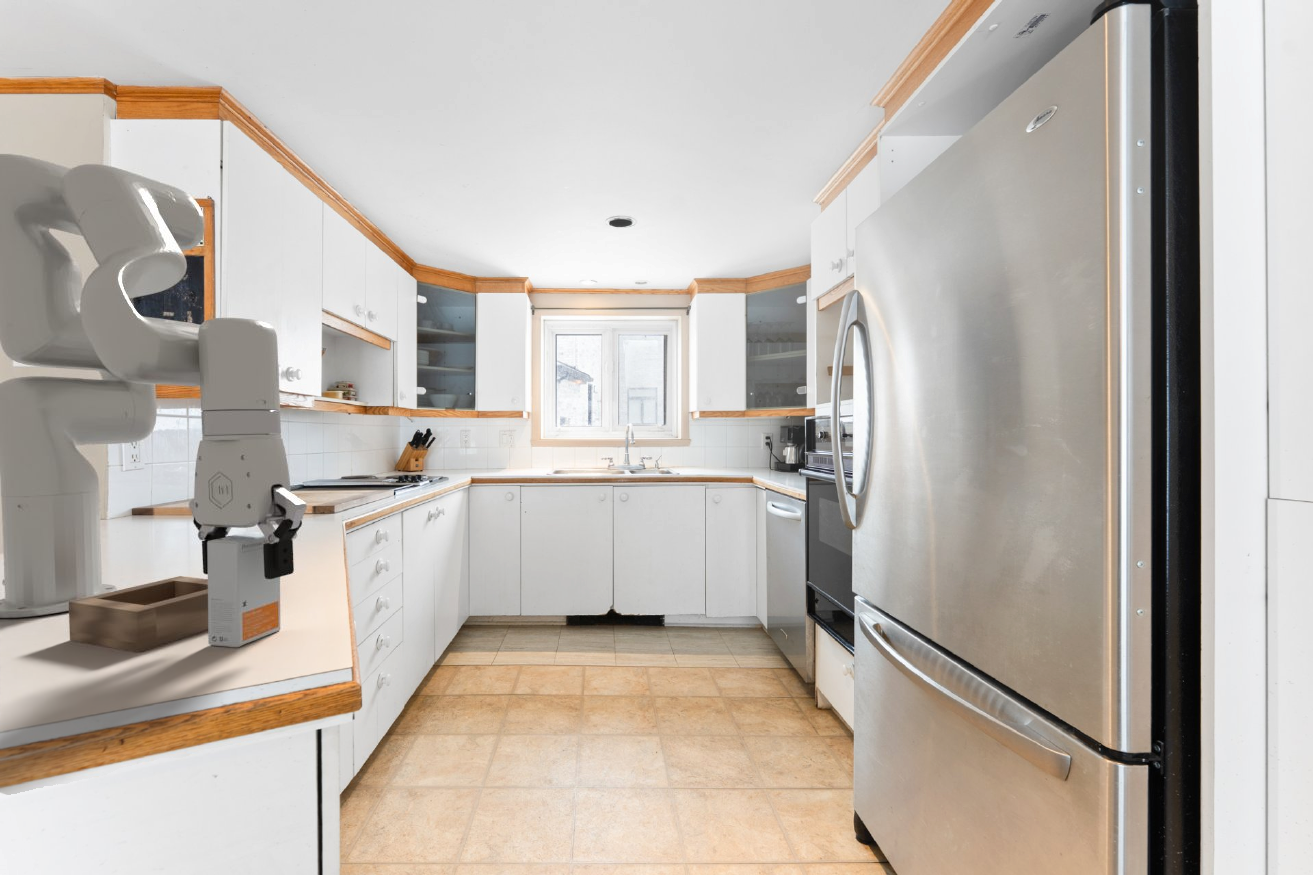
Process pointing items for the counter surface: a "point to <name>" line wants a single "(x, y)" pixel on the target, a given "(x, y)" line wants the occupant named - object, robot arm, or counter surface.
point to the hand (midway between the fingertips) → (248, 573)
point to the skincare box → (240, 591)
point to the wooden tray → (142, 614)
